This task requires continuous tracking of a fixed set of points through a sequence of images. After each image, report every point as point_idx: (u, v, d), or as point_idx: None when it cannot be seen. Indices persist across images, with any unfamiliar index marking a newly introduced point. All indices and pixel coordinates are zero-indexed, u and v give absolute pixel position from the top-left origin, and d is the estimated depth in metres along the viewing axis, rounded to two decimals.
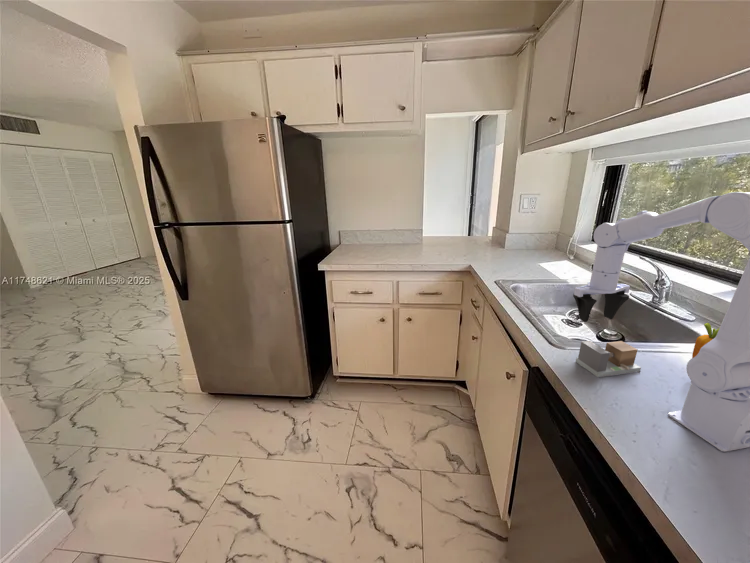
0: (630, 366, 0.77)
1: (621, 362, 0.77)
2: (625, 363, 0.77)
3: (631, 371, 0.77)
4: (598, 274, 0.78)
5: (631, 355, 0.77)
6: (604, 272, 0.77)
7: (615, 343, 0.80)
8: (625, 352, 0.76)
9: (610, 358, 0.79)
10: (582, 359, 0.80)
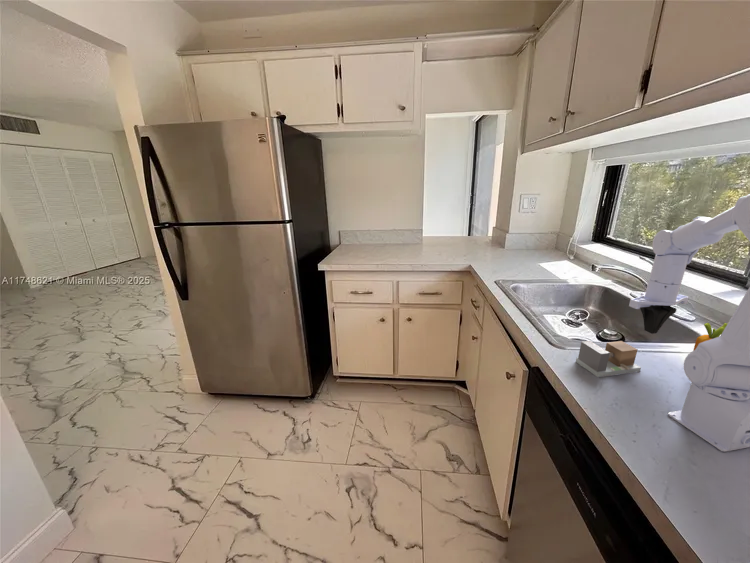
0: (630, 366, 0.77)
1: (621, 362, 0.77)
2: (625, 363, 0.77)
3: (631, 371, 0.77)
4: (657, 285, 0.73)
5: (631, 355, 0.77)
6: (664, 283, 0.72)
7: (615, 343, 0.80)
8: (625, 352, 0.76)
9: (610, 358, 0.79)
10: (582, 359, 0.80)
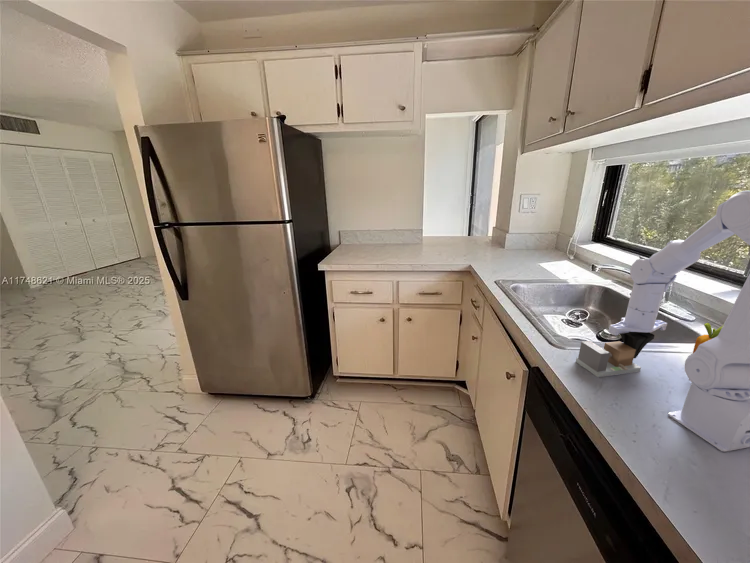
0: (630, 366, 0.77)
1: (620, 363, 0.77)
2: (623, 363, 0.77)
3: (631, 371, 0.77)
4: (635, 312, 0.75)
5: (629, 355, 0.77)
6: (642, 310, 0.74)
7: (614, 343, 0.80)
8: (624, 353, 0.76)
9: None
10: (582, 359, 0.80)
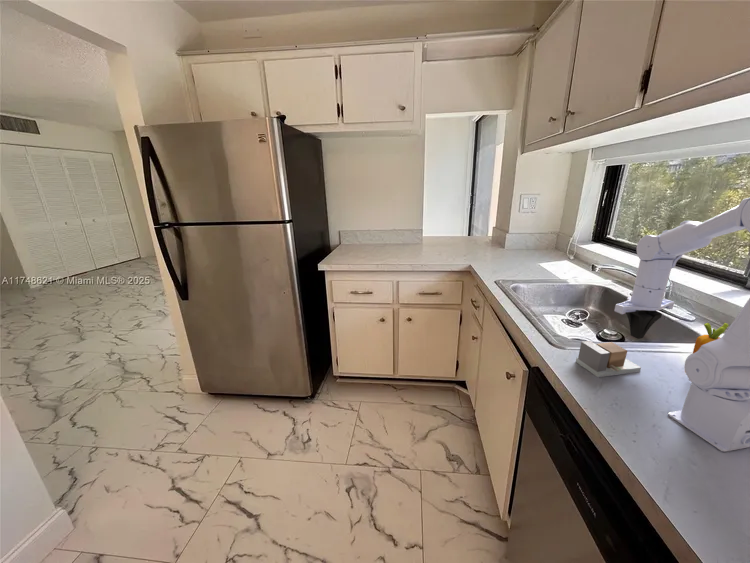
0: (630, 366, 0.77)
1: (611, 364, 0.77)
2: (615, 364, 0.77)
3: (631, 371, 0.77)
4: (642, 290, 0.73)
5: (621, 356, 0.76)
6: (649, 288, 0.72)
7: (606, 344, 0.79)
8: (615, 354, 0.76)
9: None
10: (582, 359, 0.80)
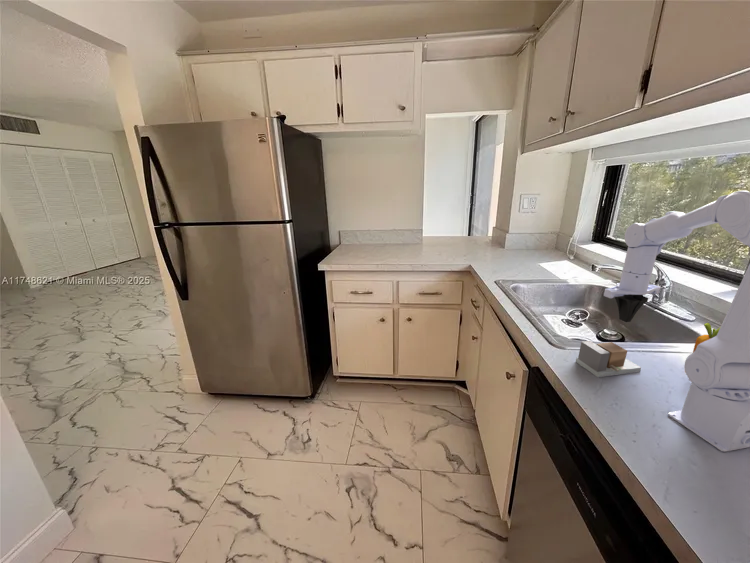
0: (630, 366, 0.77)
1: (611, 364, 0.77)
2: (615, 364, 0.77)
3: (631, 371, 0.77)
4: (629, 275, 0.77)
5: (621, 356, 0.76)
6: (636, 273, 0.76)
7: (606, 344, 0.79)
8: (615, 354, 0.76)
9: None
10: (582, 359, 0.80)
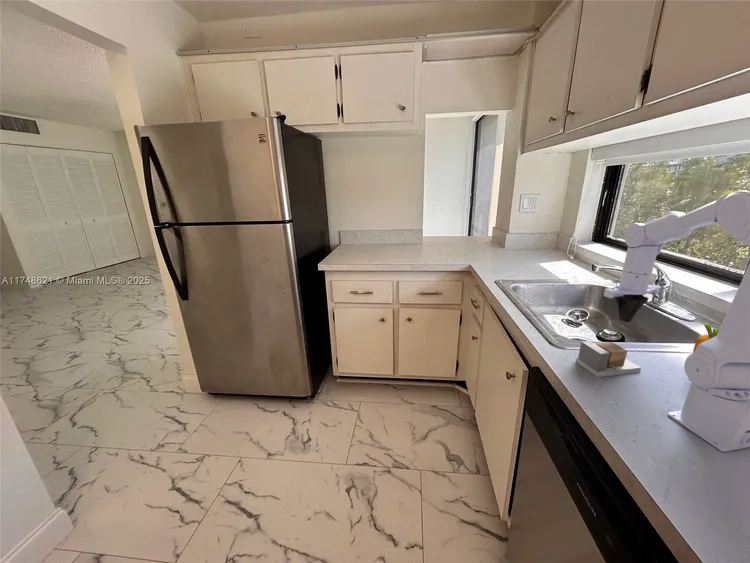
0: (630, 366, 0.77)
1: (611, 364, 0.77)
2: (615, 364, 0.77)
3: (631, 371, 0.77)
4: (629, 275, 0.77)
5: (621, 356, 0.76)
6: (636, 273, 0.76)
7: (606, 344, 0.79)
8: (615, 354, 0.76)
9: None
10: (582, 359, 0.80)
